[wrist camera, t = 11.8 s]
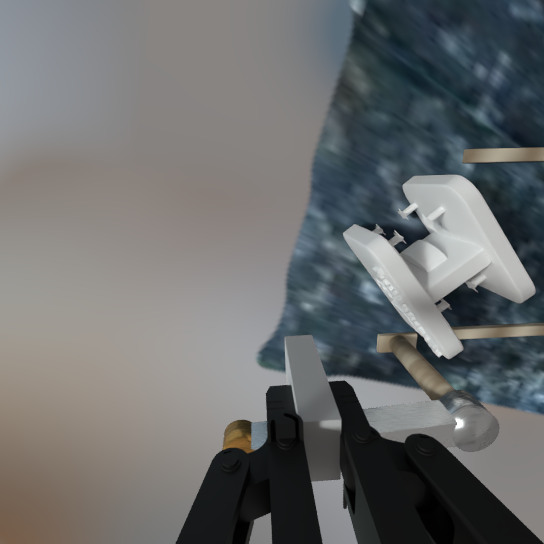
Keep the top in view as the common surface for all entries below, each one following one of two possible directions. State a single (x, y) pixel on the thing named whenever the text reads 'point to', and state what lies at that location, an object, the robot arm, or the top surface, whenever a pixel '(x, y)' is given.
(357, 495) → the robot arm
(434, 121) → the top surface
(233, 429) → the gold knob lever
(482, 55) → the top surface
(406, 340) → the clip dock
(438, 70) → the top surface
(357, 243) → the cable organizer
